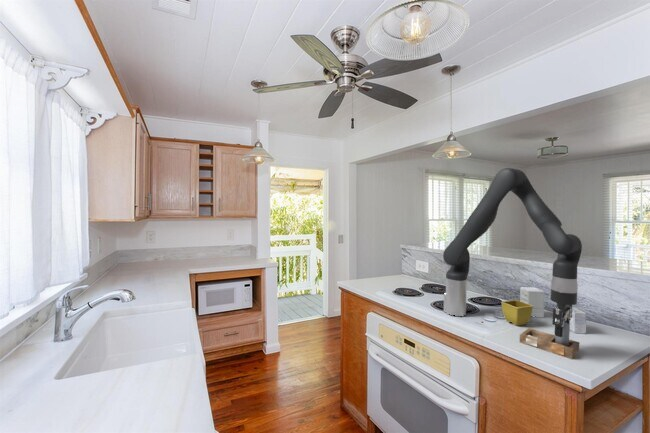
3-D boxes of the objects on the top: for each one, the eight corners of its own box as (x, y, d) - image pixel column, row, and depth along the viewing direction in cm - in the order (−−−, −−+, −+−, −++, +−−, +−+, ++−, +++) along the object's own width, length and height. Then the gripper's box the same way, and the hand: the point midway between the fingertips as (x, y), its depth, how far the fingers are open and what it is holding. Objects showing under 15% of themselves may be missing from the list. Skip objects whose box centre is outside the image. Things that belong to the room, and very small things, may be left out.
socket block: (519, 342, 116) (519, 334, 116) (528, 335, 122) (529, 327, 122) (571, 359, 103) (571, 350, 103) (579, 350, 110) (579, 341, 110)
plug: (553, 349, 110) (554, 323, 110) (556, 346, 113) (557, 320, 112) (567, 354, 107) (568, 326, 107) (570, 350, 109) (571, 323, 109)
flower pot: (517, 328, 129) (517, 307, 129) (500, 320, 138) (500, 301, 137) (532, 326, 132) (533, 305, 131) (515, 318, 140) (516, 299, 140)
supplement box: (535, 312, 149) (535, 287, 148) (544, 318, 141) (545, 291, 141) (519, 311, 150) (520, 286, 149) (527, 317, 142) (528, 290, 142)
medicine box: (586, 334, 124) (587, 313, 124) (573, 333, 125) (574, 312, 124) (574, 326, 132) (575, 307, 131) (562, 325, 132) (563, 306, 132)
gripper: (557, 283, 116) (555, 325, 117) (545, 290, 107) (543, 334, 108) (582, 288, 110) (580, 331, 111) (571, 295, 102) (569, 342, 102)
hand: (561, 333), depth 110 cm, fingers open, 8 cm apart
